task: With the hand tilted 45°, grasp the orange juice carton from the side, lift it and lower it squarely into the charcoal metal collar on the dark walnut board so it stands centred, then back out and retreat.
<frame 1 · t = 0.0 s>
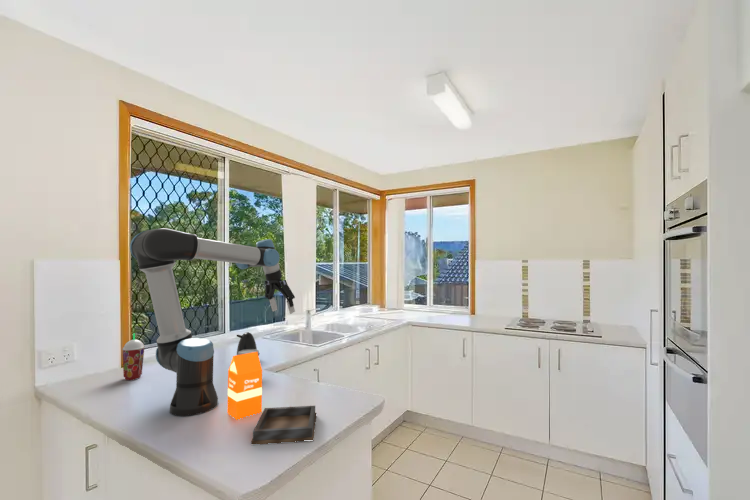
hand: (283, 311, 172), 28 cm above the worktop, tool tilted 20°, fingers open, 13 cm apart
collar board: (286, 429, 107), on the worktop
disposable coffee cup: (248, 378, 156), on the worktop
orange juice: (244, 413, 119), on the worktop
smoothie: (132, 378, 157), on the worktop
pump dispenser: (246, 361, 184), on the worktop
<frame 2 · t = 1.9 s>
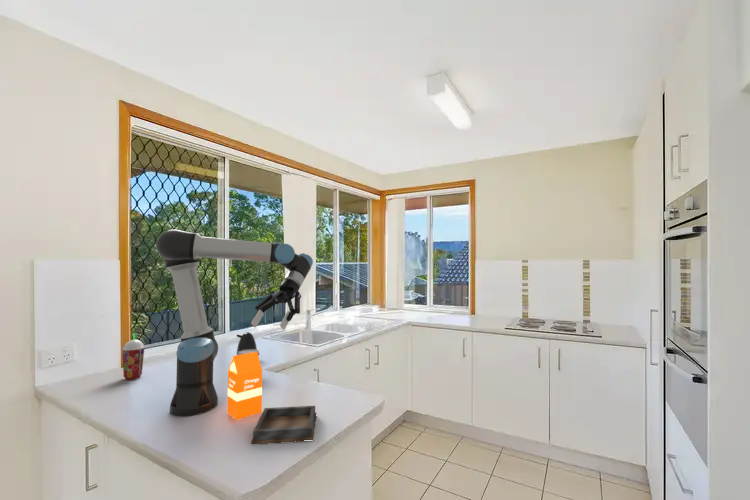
hand: (267, 326, 131), 28 cm above the worktop, tool tilted 45°, fingers open, 13 cm apart
nothing on the worktop moved.
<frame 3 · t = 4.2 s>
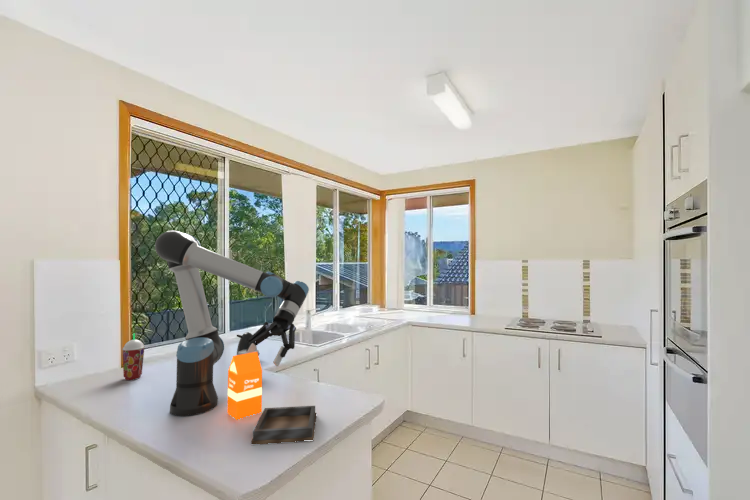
hand: (260, 362, 125), 16 cm above the worktop, tool tilted 45°, fingers open, 13 cm apart
nothing on the worktop moved.
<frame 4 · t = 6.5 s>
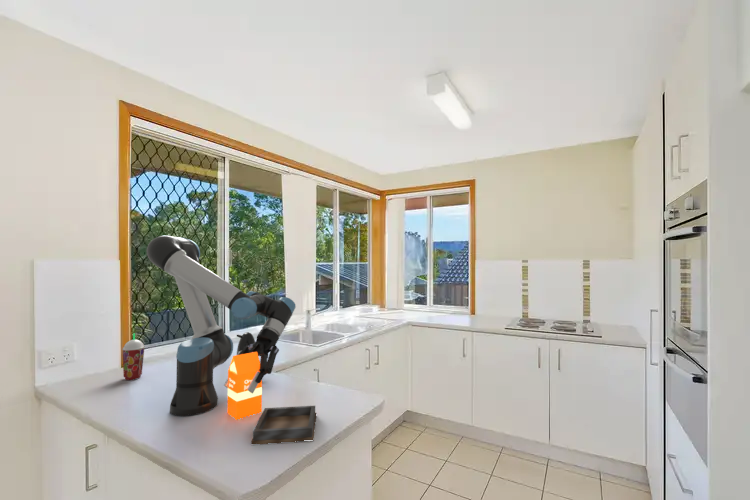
hand: (238, 389, 116), 9 cm above the worktop, tool tilted 45°, fingers closed on orange juice, 9 cm apart
orange juice: (244, 413, 119), on the worktop, touching gripper
everything else where it was.
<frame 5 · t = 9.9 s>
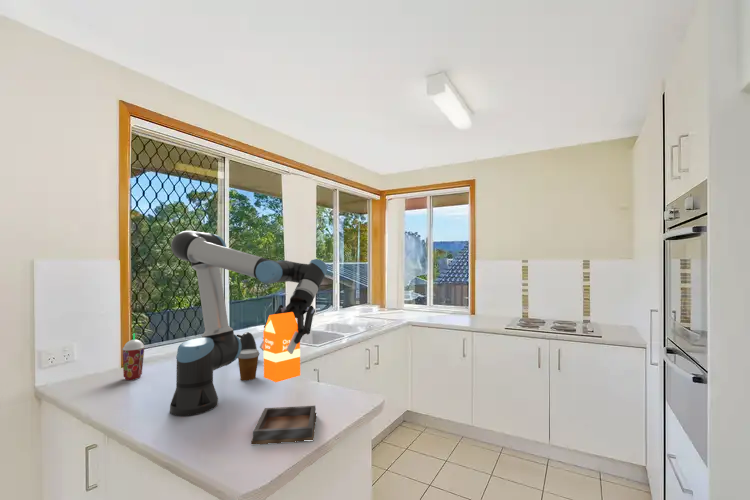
hand: (275, 350, 108), 24 cm above the worktop, tool tilted 45°, fingers closed on orange juice, 9 cm apart
orange juice: (282, 377, 111), point 15 cm above the worktop, touching gripper
everything else where it was.
when the fingers open (11 cm above the worktop, at t = 13.6 s): orange juice drops 1 cm, resting on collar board.
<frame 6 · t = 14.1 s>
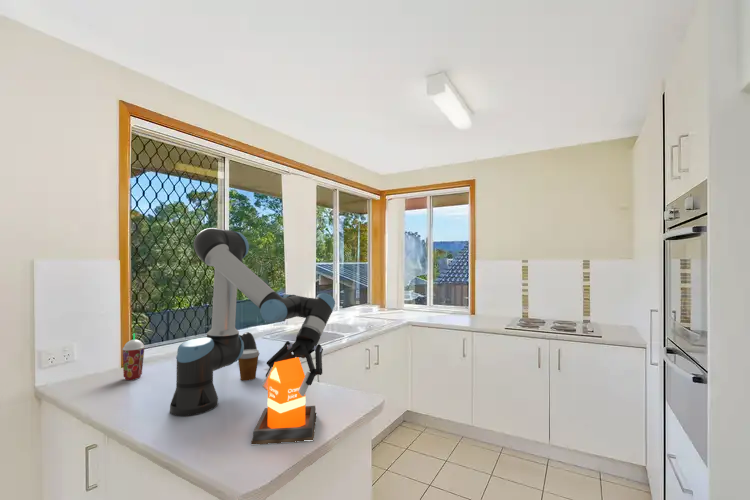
hand: (282, 391, 105), 12 cm above the worktop, tool tilted 45°, fingers open, 13 cm apart
orange juice: (286, 426, 107), point 1 cm above the worktop, touching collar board
everything else where it was.
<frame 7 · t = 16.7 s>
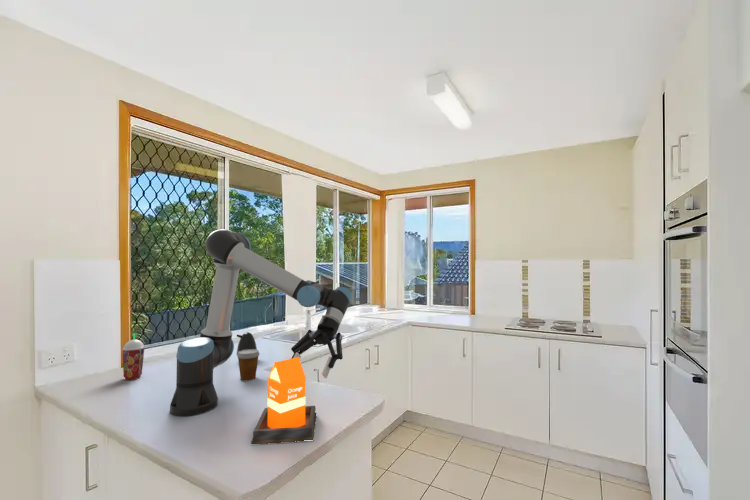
hand: (306, 373, 117), 14 cm above the worktop, tool tilted 45°, fingers open, 13 cm apart
nothing on the worktop moved.
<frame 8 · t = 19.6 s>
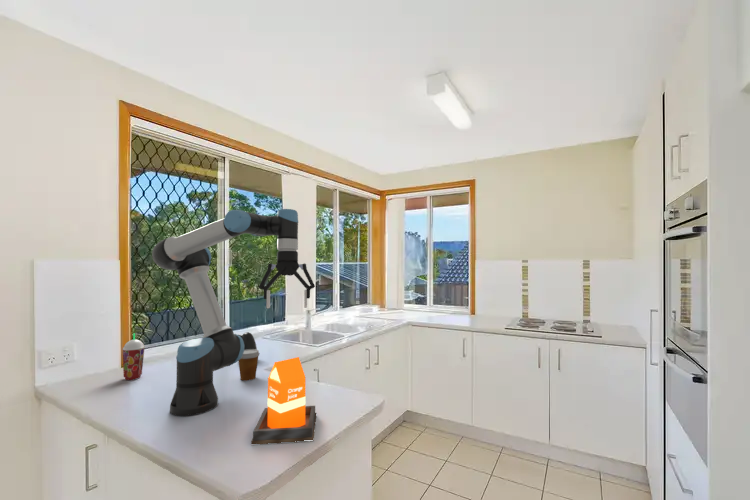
hand: (287, 307, 129), 35 cm above the worktop, tool pointing down, fingers open, 13 cm apart
nothing on the worktop moved.
at the end: orange juice inside the target area on the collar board (0.3 cm from its centre), point 0.8 cm above the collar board's base; orange juice tilted 0°; the gripper is holding nothing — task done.
